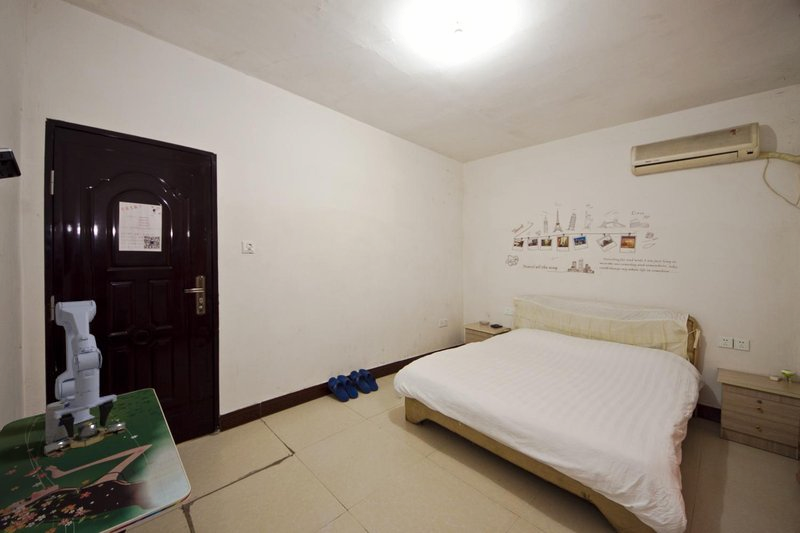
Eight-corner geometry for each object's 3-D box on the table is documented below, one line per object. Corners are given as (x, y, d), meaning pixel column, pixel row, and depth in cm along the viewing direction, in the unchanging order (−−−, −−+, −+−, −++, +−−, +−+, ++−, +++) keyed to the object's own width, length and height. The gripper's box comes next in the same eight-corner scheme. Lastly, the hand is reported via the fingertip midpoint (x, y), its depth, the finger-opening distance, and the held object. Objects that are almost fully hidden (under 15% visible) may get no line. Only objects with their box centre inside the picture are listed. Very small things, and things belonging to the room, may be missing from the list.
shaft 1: (66, 445, 99) (66, 436, 99) (70, 448, 97) (70, 439, 97) (43, 453, 94) (43, 444, 94) (47, 456, 93) (47, 447, 93)
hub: (75, 441, 101) (75, 424, 101) (93, 434, 105) (93, 418, 105) (80, 445, 99) (80, 428, 99) (99, 438, 103) (99, 422, 103)
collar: (62, 443, 100) (62, 438, 100) (99, 430, 108) (99, 425, 108) (73, 450, 96) (73, 445, 96) (110, 436, 104) (110, 432, 104)
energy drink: (74, 436, 104) (74, 400, 104) (55, 445, 99) (55, 407, 99) (60, 435, 105) (60, 399, 105) (40, 444, 99) (40, 407, 99)
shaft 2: (105, 437, 104) (105, 429, 104) (105, 433, 106) (105, 425, 106) (125, 431, 107) (125, 423, 107) (124, 427, 110) (124, 420, 110)
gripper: (60, 400, 94) (60, 445, 94) (120, 384, 107) (120, 423, 107) (51, 396, 97) (51, 439, 97) (111, 380, 110) (111, 419, 110)
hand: (87, 431), depth 102 cm, fingers open, 7 cm apart
